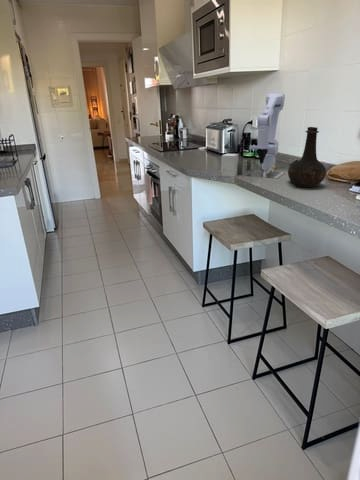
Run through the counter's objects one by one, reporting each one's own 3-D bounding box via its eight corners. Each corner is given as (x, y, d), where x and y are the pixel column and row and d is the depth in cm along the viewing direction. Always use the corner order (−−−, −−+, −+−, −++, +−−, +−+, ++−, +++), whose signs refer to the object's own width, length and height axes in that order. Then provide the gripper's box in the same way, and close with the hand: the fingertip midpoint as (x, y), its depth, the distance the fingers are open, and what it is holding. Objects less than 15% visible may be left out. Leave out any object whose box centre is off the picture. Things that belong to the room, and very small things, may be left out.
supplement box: (238, 176, 194) (239, 153, 190) (233, 178, 189) (234, 155, 184) (226, 175, 198) (226, 153, 193) (221, 177, 192) (221, 155, 187)
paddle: (267, 171, 193) (273, 165, 190) (268, 173, 193) (275, 166, 190) (265, 172, 190) (271, 166, 187) (267, 174, 190) (273, 167, 187)
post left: (238, 176, 195) (239, 162, 192) (242, 176, 194) (243, 162, 191) (237, 176, 193) (237, 162, 190) (241, 177, 192) (241, 163, 189)
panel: (255, 172, 203) (255, 165, 202) (285, 174, 195) (286, 167, 193) (245, 178, 190) (245, 170, 188) (277, 180, 181) (278, 173, 180)
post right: (247, 171, 206) (247, 158, 203) (250, 171, 205) (251, 158, 202) (245, 172, 204) (246, 158, 201) (249, 172, 203) (250, 159, 200)
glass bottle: (294, 179, 183) (300, 125, 172) (329, 184, 172) (337, 126, 161) (280, 186, 170) (286, 127, 159) (316, 191, 159) (325, 129, 149)
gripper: (248, 138, 186) (246, 163, 191) (274, 139, 179) (272, 165, 185) (252, 137, 192) (251, 161, 197) (278, 137, 185) (275, 162, 190)
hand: (261, 163), depth 191 cm, fingers closed
